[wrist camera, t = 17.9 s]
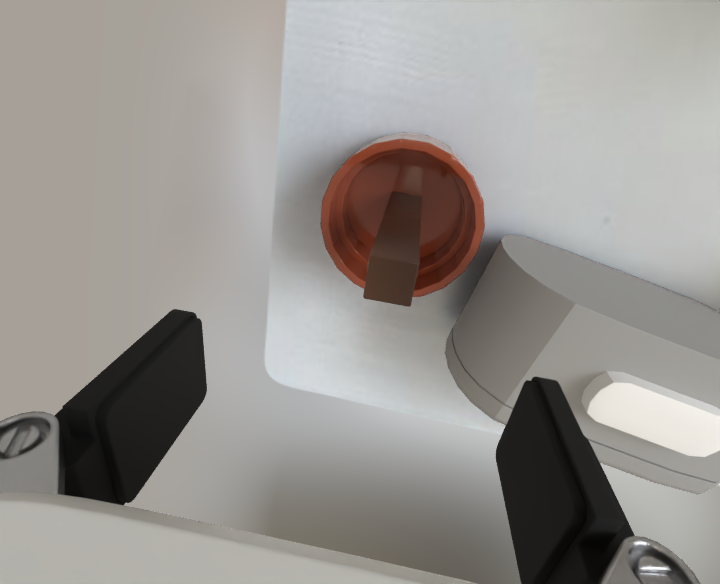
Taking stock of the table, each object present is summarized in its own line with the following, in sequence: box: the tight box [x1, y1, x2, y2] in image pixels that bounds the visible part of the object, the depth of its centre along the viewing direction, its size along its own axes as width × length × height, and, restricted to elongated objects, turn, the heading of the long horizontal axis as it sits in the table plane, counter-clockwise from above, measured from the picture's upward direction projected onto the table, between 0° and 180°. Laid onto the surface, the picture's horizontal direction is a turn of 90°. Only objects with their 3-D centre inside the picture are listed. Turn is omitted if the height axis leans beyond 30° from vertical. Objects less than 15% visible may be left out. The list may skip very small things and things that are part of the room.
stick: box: [363, 192, 422, 307], centre depth 25 cm, size 2×2×14 cm
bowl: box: [320, 132, 485, 297], centre depth 29 cm, size 11×11×6 cm
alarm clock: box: [445, 235, 720, 494], centre depth 28 cm, size 21×10×13 cm, turn 71°
